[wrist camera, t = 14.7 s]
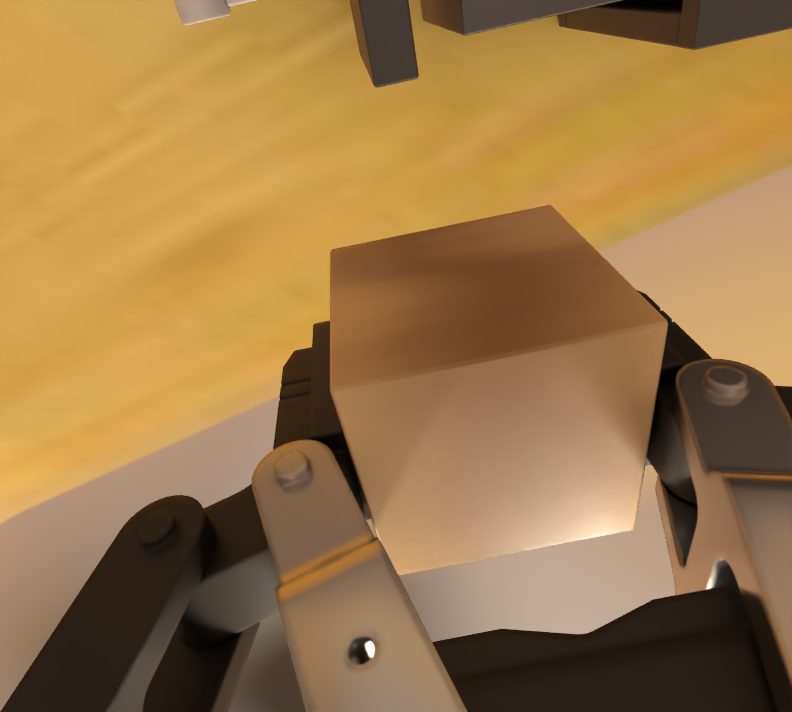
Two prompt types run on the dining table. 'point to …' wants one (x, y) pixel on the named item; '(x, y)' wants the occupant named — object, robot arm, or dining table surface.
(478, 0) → the drawer with bar handle
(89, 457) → the dining table surface
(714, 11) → the dark drawer cabinet
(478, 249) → the block
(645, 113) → the dining table surface
